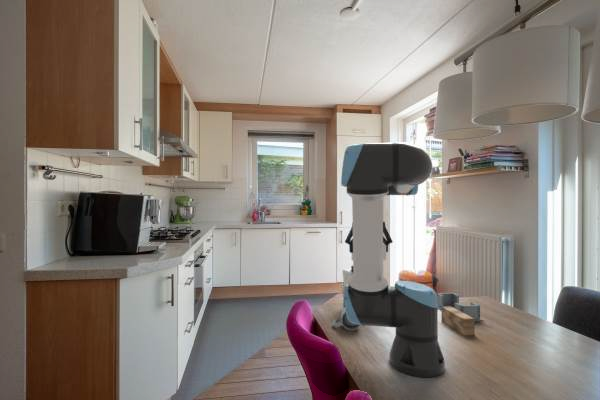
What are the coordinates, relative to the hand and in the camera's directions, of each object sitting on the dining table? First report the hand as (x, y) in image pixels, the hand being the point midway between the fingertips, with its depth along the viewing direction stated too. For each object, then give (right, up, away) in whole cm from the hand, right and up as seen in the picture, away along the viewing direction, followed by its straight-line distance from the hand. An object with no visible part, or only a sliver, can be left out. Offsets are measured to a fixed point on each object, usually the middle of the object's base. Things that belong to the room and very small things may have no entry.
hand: (368, 260), depth 135 cm
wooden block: (+30, -23, -14) cm, 41 cm away
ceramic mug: (-11, -23, -13) cm, 29 cm away
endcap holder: (+39, -23, +2) cm, 45 cm away
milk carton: (-5, -24, +5) cm, 25 cm away
